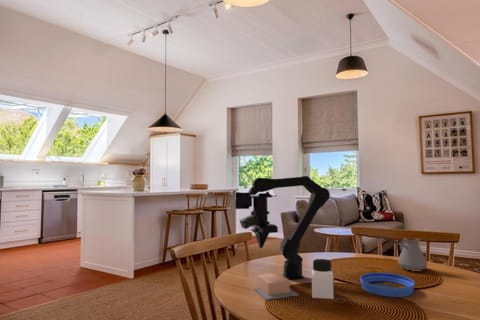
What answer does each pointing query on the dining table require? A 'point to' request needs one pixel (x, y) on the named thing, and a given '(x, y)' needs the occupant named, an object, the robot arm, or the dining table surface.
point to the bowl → (387, 288)
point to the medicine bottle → (322, 279)
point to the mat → (275, 296)
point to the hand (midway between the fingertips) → (260, 247)
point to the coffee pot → (410, 254)
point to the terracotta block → (273, 284)
